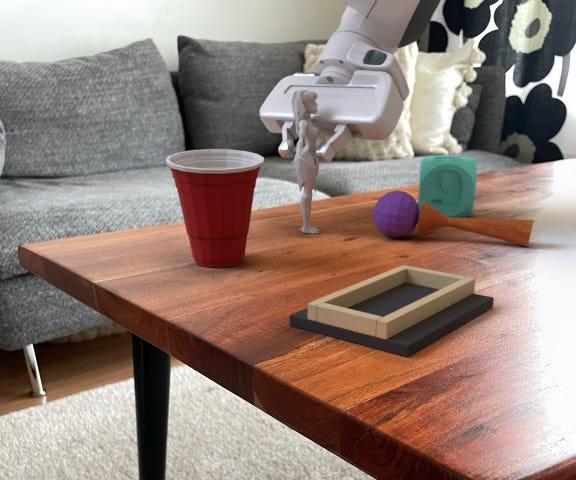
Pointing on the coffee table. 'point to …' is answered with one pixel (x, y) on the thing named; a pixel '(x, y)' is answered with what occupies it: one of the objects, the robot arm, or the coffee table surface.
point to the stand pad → (396, 309)
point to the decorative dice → (448, 184)
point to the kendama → (441, 220)
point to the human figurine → (306, 151)
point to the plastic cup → (216, 201)
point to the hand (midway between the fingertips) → (303, 156)
